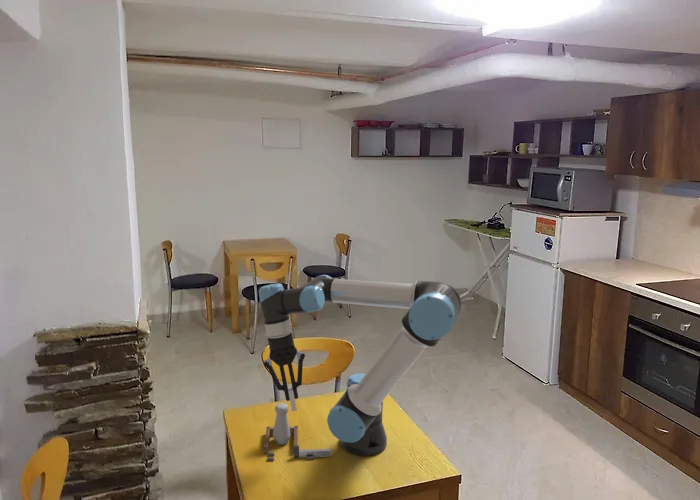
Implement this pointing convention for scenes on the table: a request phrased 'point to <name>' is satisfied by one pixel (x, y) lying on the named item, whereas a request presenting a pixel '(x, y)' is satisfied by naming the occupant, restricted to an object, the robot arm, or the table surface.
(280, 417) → the salt shaker
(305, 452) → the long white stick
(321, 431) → the table surface
